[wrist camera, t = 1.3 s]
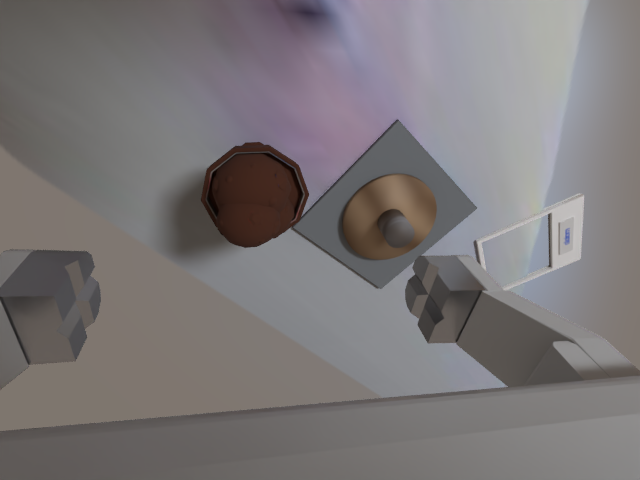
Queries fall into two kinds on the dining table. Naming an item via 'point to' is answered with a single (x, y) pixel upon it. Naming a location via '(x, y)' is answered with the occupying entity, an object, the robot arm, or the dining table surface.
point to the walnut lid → (389, 216)
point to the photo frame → (551, 235)
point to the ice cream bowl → (254, 194)
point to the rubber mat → (380, 159)
